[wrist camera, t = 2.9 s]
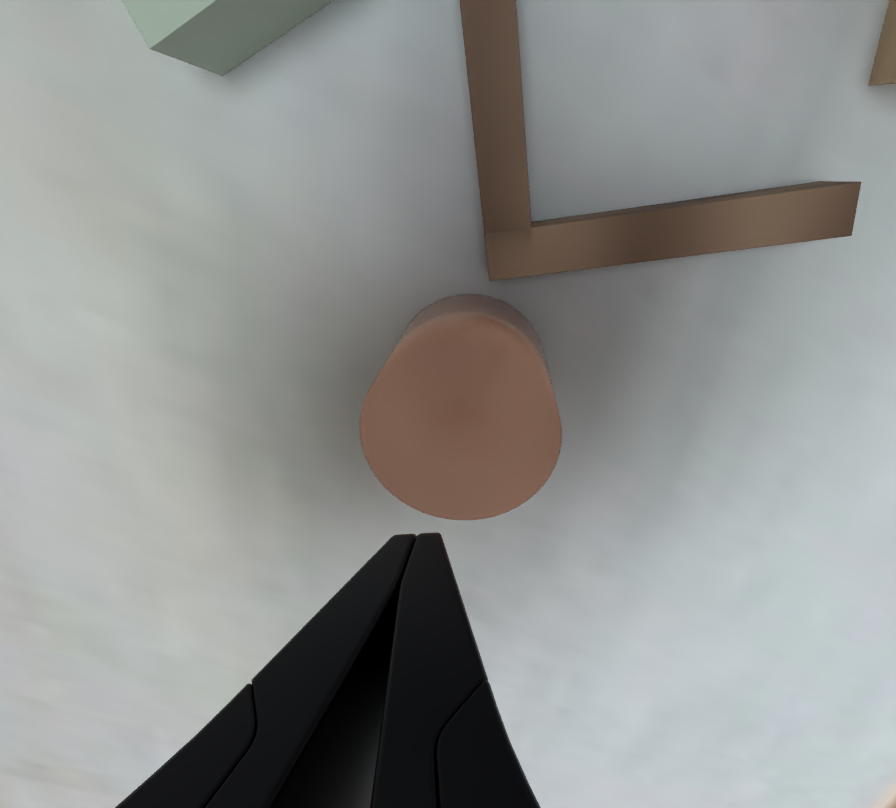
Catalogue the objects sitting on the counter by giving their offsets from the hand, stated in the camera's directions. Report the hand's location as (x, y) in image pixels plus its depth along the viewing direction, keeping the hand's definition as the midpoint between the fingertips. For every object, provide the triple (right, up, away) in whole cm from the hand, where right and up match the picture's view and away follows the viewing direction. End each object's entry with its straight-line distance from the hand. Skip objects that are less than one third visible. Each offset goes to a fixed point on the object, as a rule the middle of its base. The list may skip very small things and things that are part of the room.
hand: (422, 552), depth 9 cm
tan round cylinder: (+1, +4, +11) cm, 12 cm away
